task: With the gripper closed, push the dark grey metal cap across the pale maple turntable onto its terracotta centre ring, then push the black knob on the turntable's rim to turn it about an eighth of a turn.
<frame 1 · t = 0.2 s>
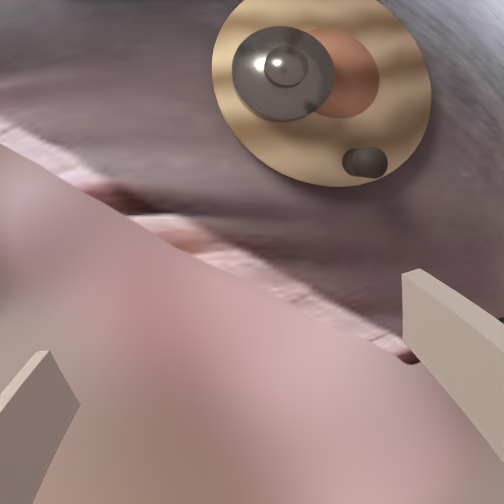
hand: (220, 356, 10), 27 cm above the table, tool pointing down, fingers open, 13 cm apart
turntable: (337, 67, 28), point 5 cm above the table, hinge at 0.0°, touching cover
cover: (280, 77, 29), point 3 cm above the table, touching turntable
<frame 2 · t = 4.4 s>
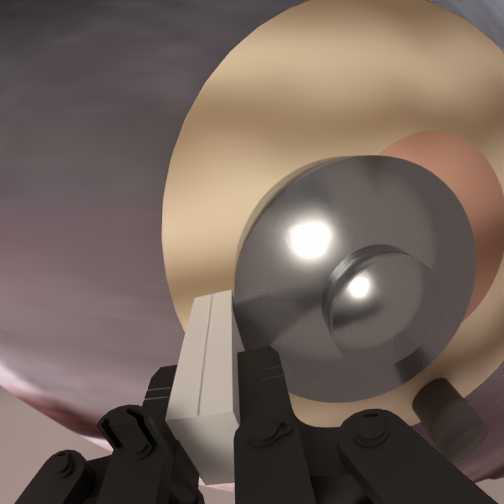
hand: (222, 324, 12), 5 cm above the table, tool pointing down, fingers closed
turntable: (456, 251, 12), point 5 cm above the table, hinge at 0.0°
cover: (348, 271, 14), point 3 cm above the table, touching gripper
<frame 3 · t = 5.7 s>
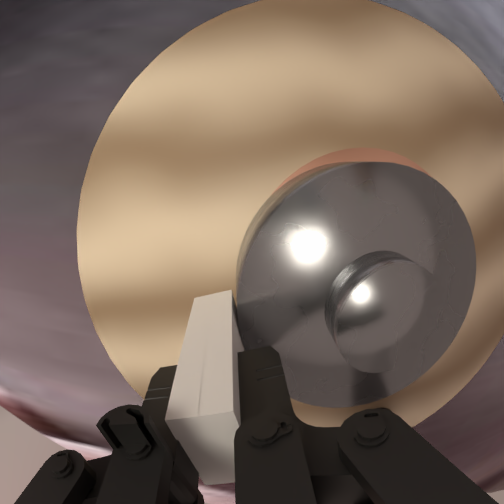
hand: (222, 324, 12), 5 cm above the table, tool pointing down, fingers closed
turntable: (378, 283, 12), point 5 cm above the table, hinge at 0.0°, touching cover
cover: (349, 276, 14), point 3 cm above the table, touching turntable
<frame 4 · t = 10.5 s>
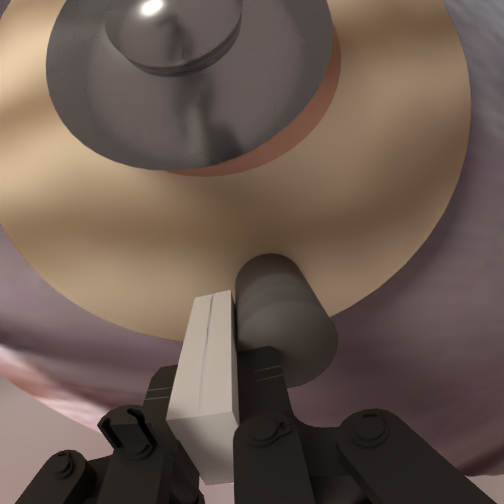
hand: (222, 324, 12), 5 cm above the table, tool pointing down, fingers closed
turntable: (206, 35, 9), point 5 cm above the table, hinge at 0.6°, touching cover, gripper
cover: (190, 52, 11), point 3 cm above the table, touching turntable
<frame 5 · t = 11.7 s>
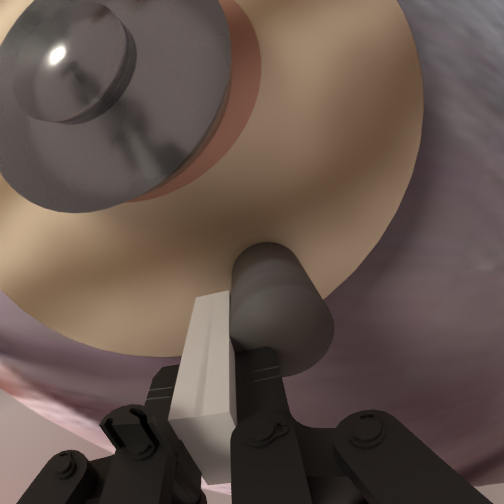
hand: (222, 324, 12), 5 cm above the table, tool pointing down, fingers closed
turntable: (116, 65, 10), point 5 cm above the table, hinge at 20.0°, touching cover, gripper
cover: (113, 85, 11), point 3 cm above the table, touching turntable
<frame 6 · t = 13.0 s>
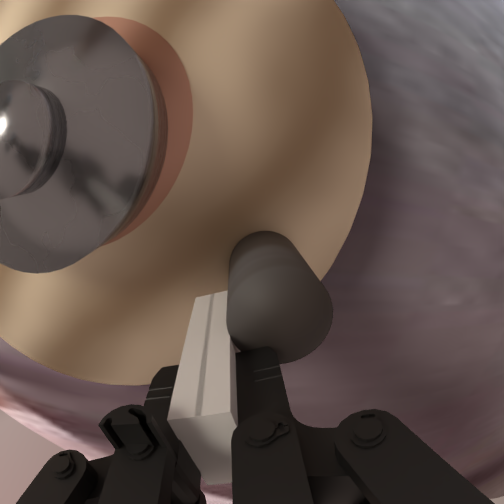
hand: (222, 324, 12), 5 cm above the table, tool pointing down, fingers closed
turntable: (55, 124, 10), point 5 cm above the table, hinge at 40.5°, touching cover, gripper
cover: (62, 142, 12), point 3 cm above the table, touching turntable
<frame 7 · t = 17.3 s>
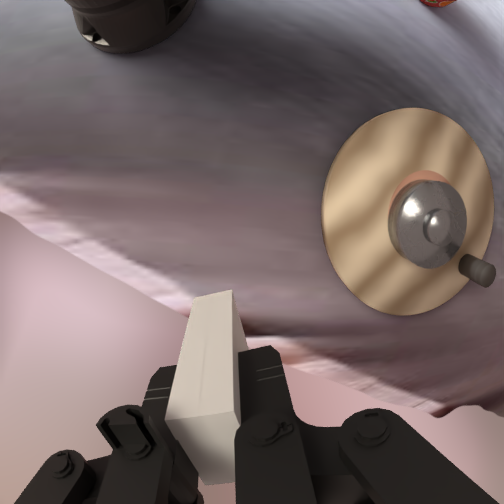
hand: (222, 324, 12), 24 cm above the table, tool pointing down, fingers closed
turntable: (432, 218, 32), point 5 cm above the table, hinge at 39.8°, touching cover
cover: (422, 220, 34), point 3 cm above the table, touching turntable
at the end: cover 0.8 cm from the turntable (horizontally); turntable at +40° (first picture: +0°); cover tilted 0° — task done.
